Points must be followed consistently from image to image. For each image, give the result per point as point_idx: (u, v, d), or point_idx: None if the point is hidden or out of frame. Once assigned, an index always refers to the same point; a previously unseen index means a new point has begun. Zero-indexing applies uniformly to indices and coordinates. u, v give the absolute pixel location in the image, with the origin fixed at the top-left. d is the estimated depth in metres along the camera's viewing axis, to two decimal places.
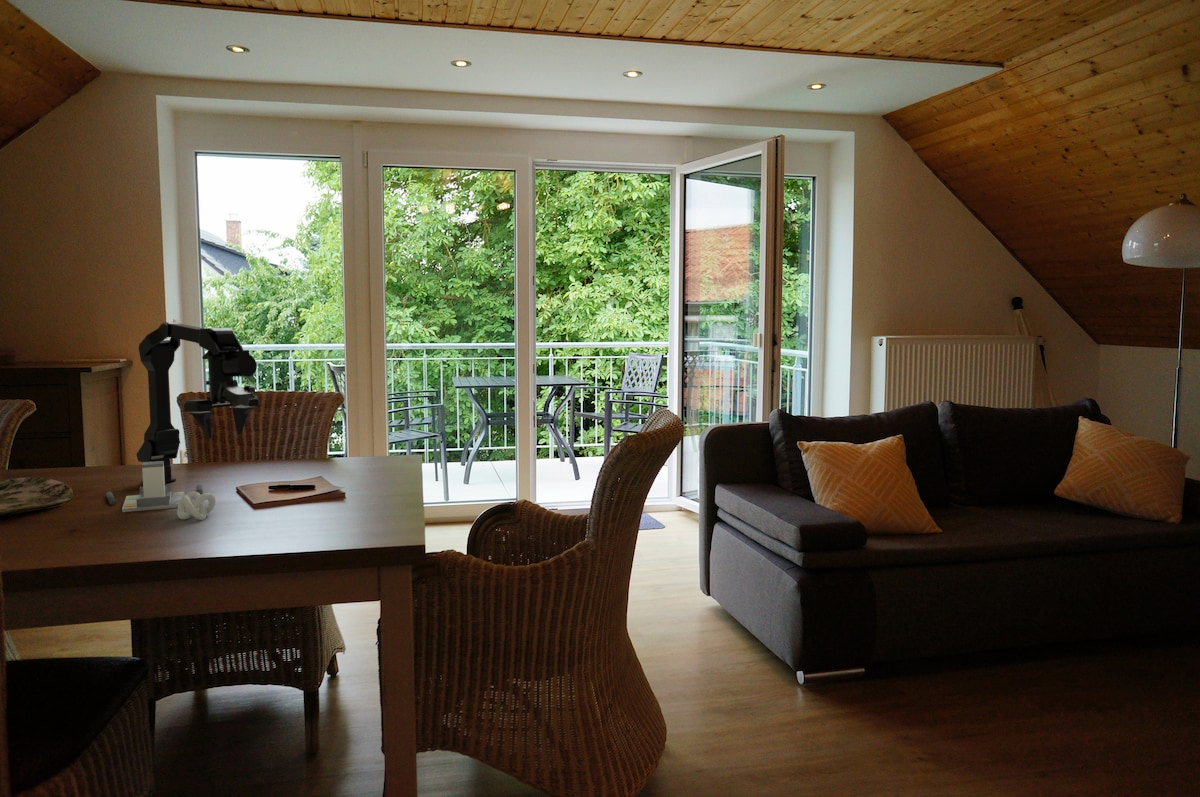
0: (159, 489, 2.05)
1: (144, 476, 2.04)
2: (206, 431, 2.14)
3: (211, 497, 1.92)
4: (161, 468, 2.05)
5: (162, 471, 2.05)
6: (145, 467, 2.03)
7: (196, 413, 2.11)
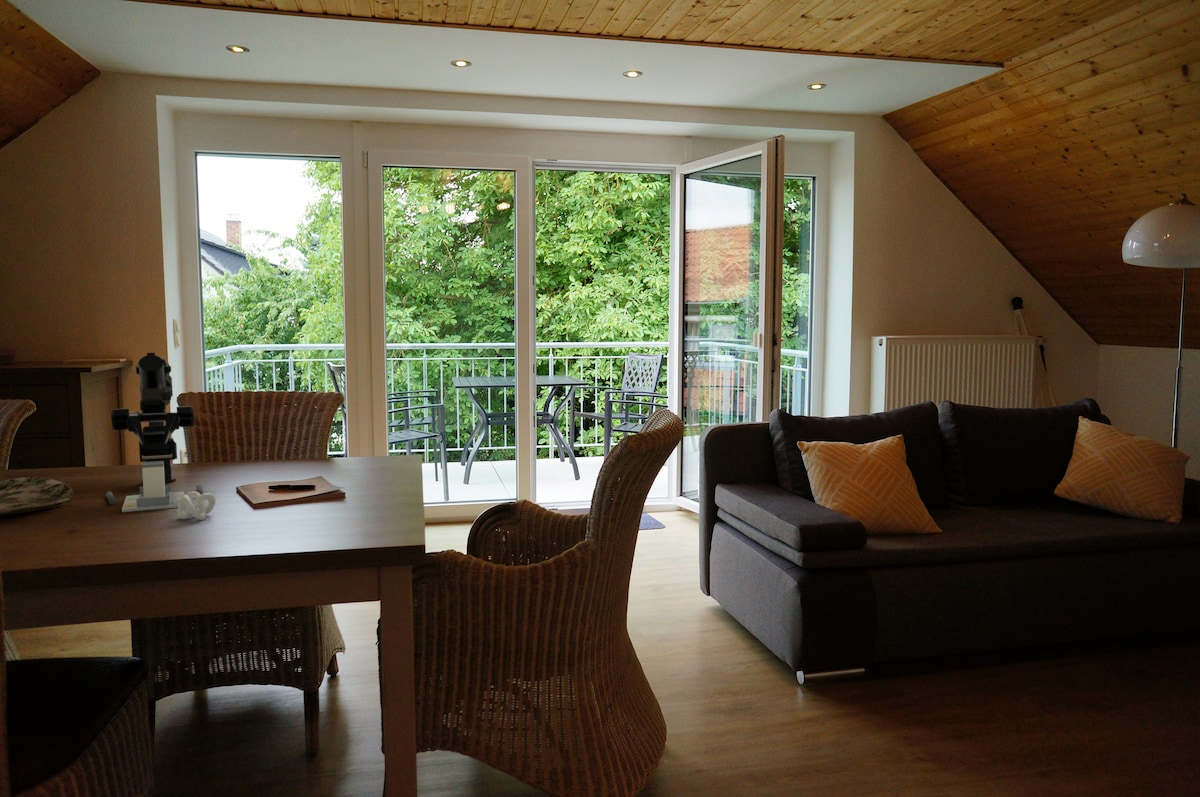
0: (159, 489, 2.05)
1: (144, 476, 2.04)
2: (139, 438, 2.13)
3: (211, 497, 1.92)
4: (161, 468, 2.05)
5: (162, 471, 2.05)
6: (145, 467, 2.03)
7: None
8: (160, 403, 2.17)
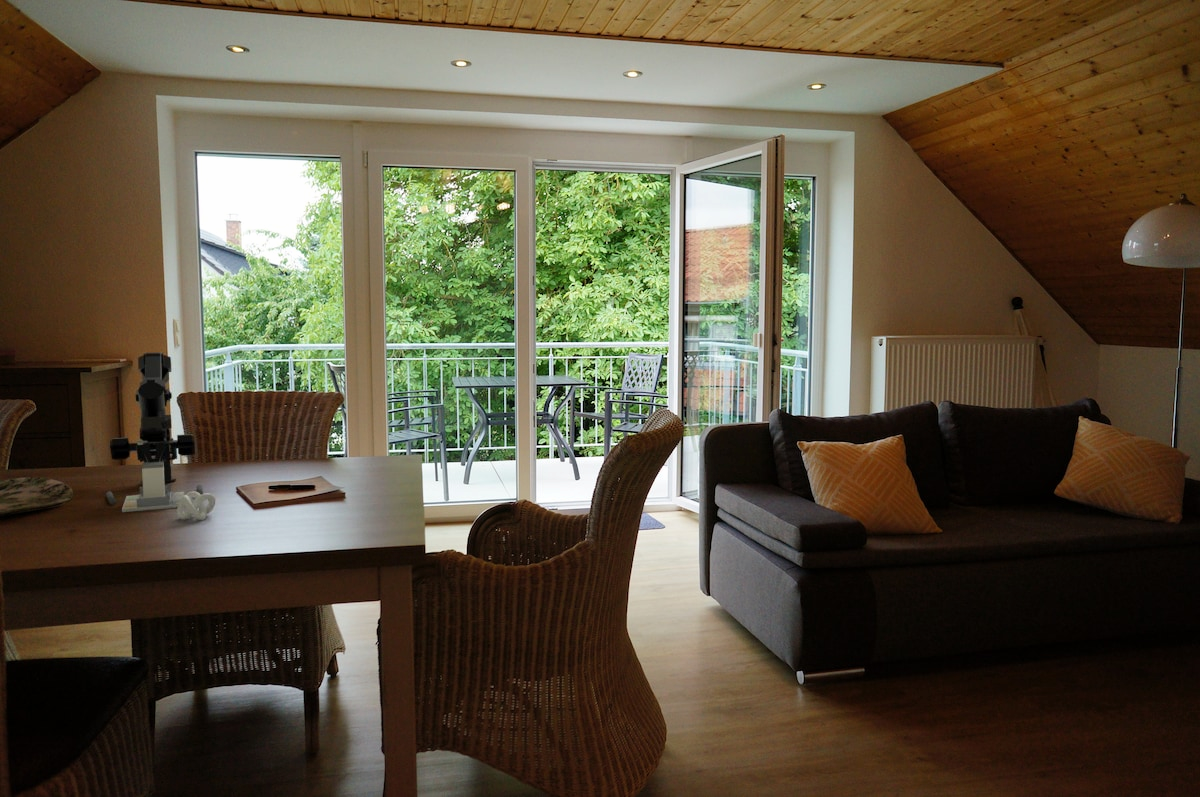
0: (159, 490, 2.04)
1: (144, 477, 2.02)
2: None
3: (211, 497, 1.92)
4: (161, 469, 2.04)
5: (162, 472, 2.04)
6: (145, 468, 2.02)
7: None
8: (160, 431, 2.11)
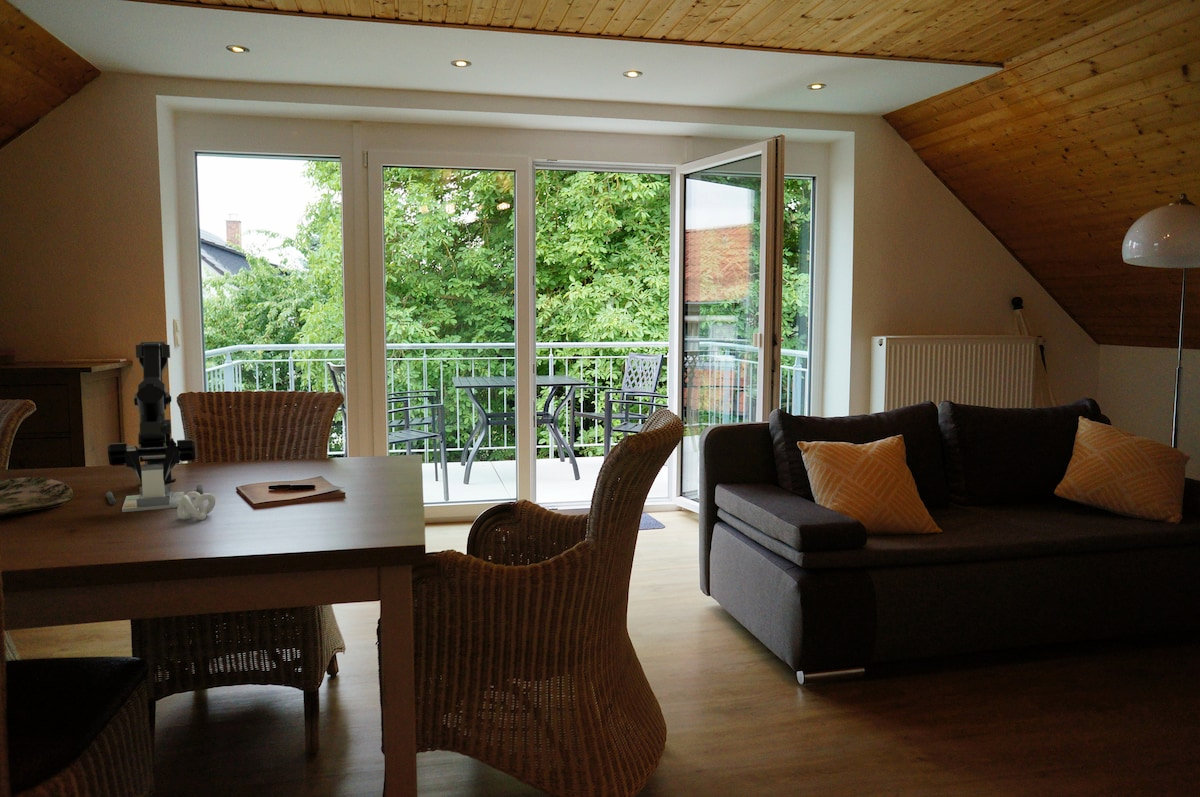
0: (159, 492, 2.01)
1: (143, 479, 2.00)
2: (137, 474, 2.01)
3: (211, 497, 1.92)
4: (161, 471, 2.01)
5: (162, 474, 2.01)
6: (144, 470, 2.00)
7: None
8: (159, 437, 2.05)
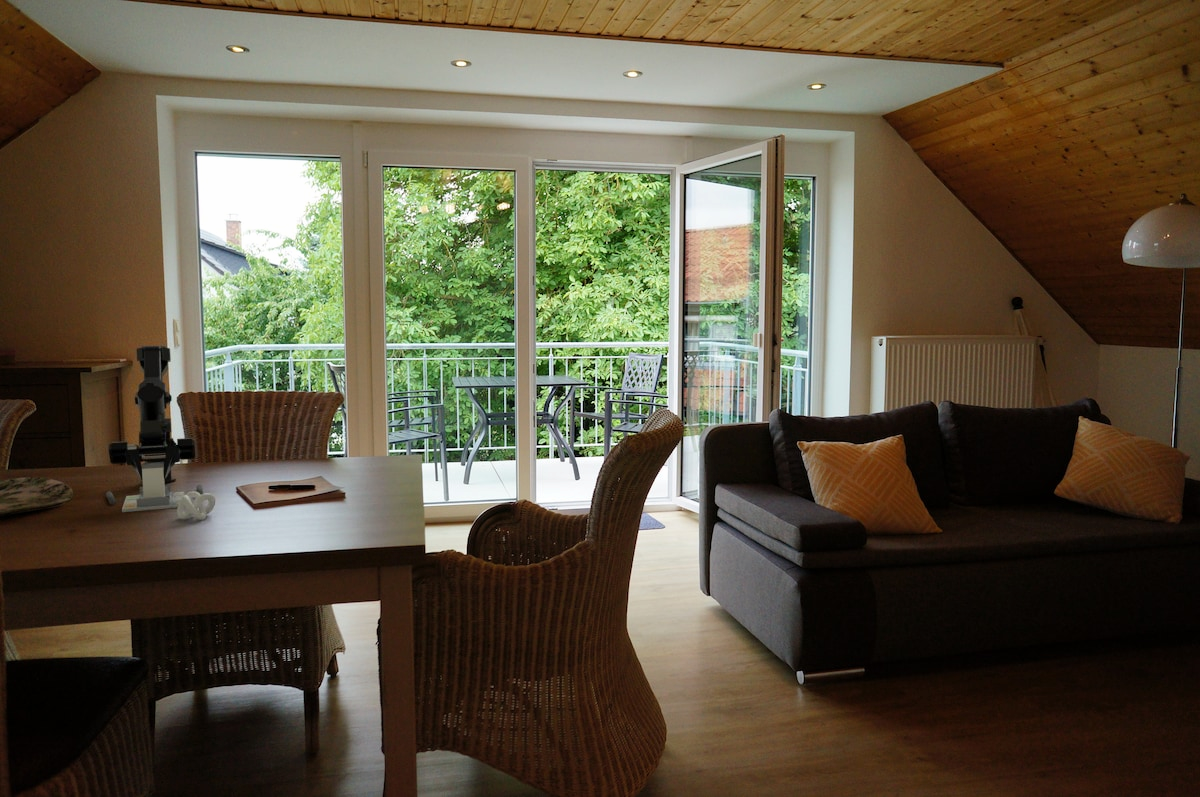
0: (159, 490, 2.04)
1: (144, 477, 2.02)
2: (138, 472, 2.04)
3: (211, 497, 1.92)
4: (161, 469, 2.04)
5: (162, 472, 2.04)
6: (145, 468, 2.02)
7: None
8: (160, 435, 2.08)
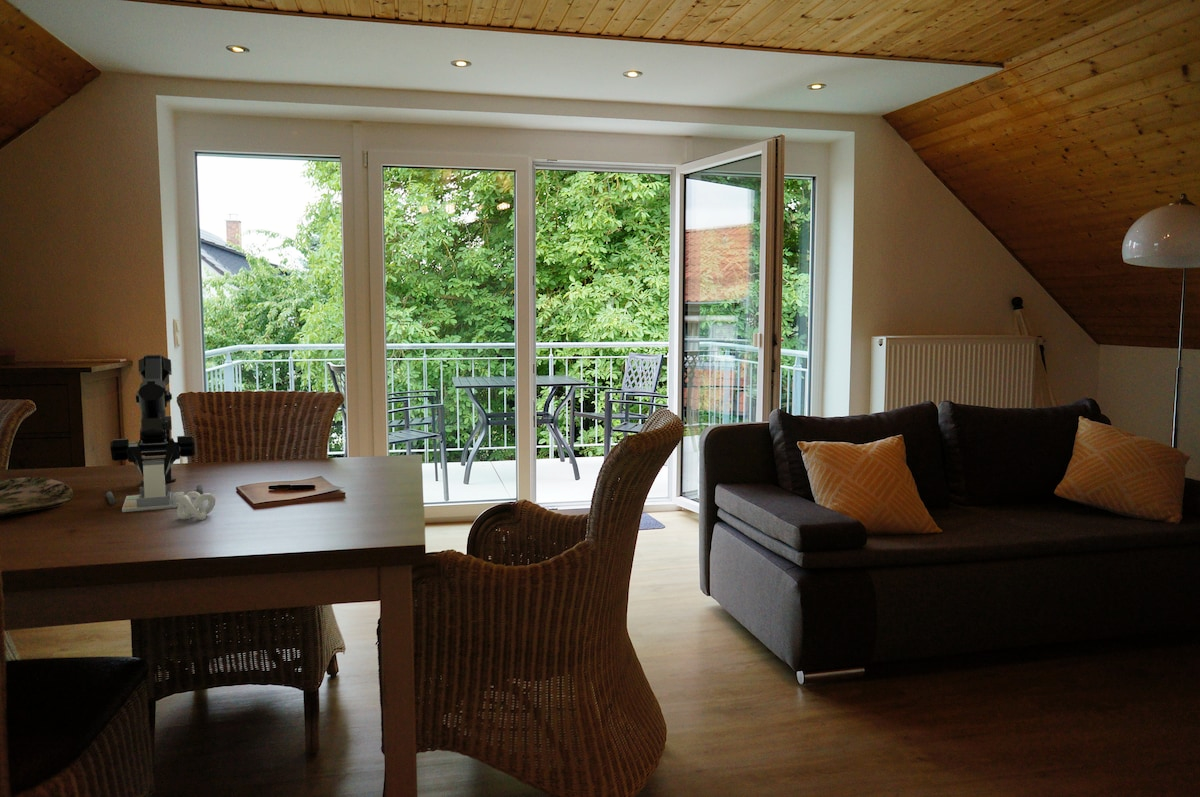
0: (160, 487, 2.08)
1: (145, 474, 2.07)
2: (139, 469, 2.08)
3: (211, 497, 1.92)
4: (161, 466, 2.08)
5: (162, 469, 2.08)
6: (146, 465, 2.07)
7: None
8: (160, 433, 2.12)
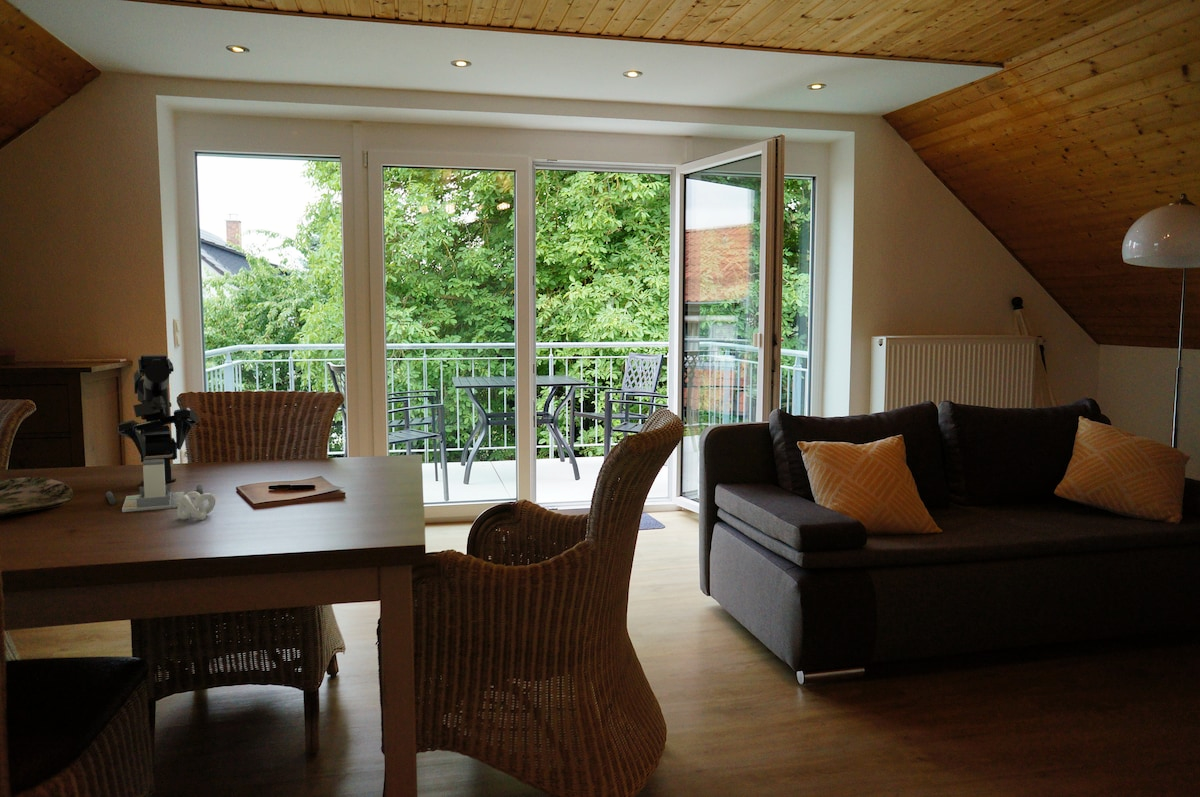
0: (160, 486, 2.08)
1: (145, 473, 2.07)
2: None
3: (211, 497, 1.92)
4: (161, 466, 2.08)
5: (162, 469, 2.08)
6: (146, 465, 2.07)
7: None
8: (157, 412, 2.18)
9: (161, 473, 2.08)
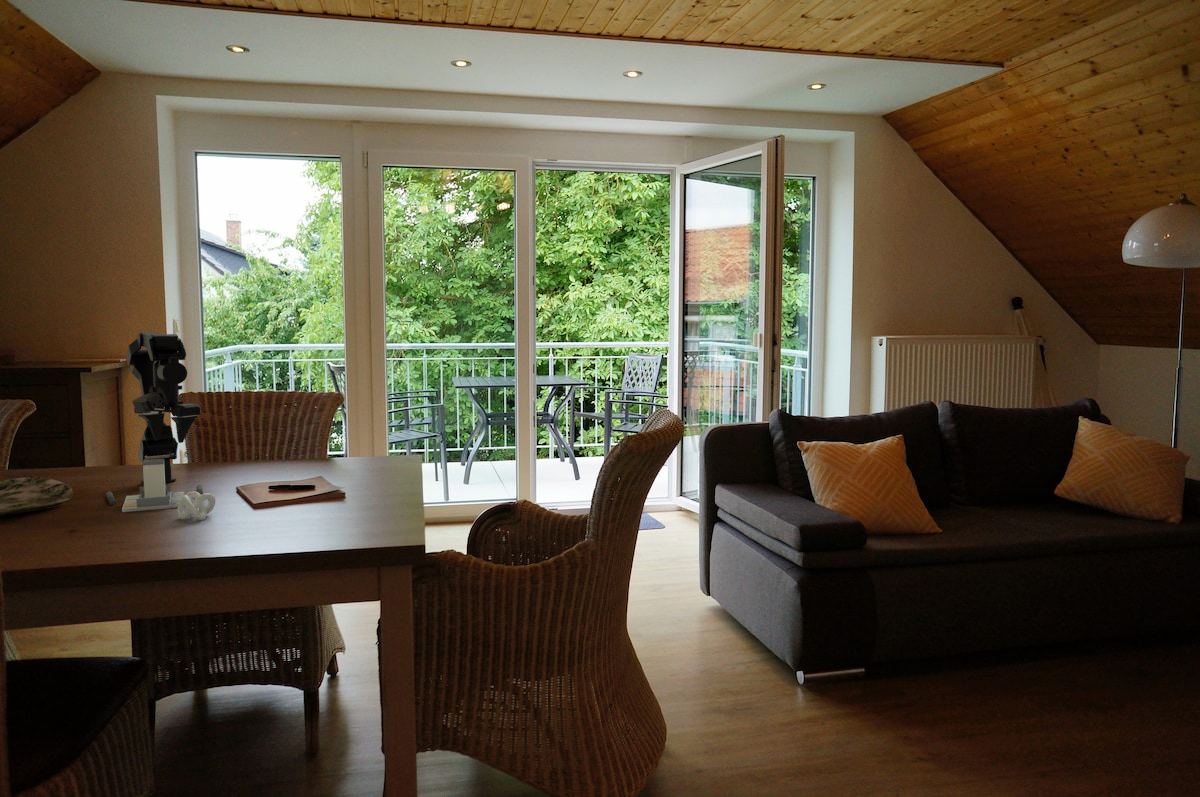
0: (160, 486, 2.08)
1: (145, 473, 2.07)
2: None
3: (211, 497, 1.92)
4: (161, 466, 2.08)
5: (162, 469, 2.08)
6: (146, 465, 2.07)
7: None
8: None
9: (161, 473, 2.08)
